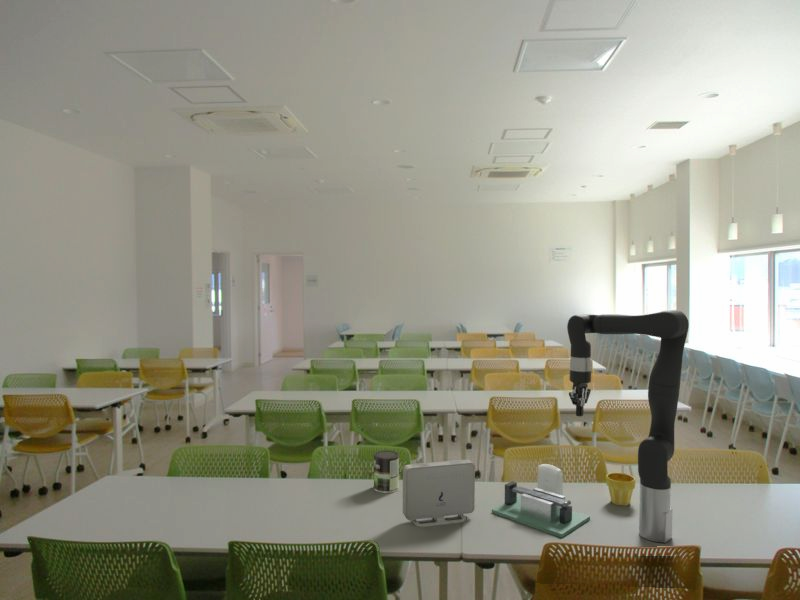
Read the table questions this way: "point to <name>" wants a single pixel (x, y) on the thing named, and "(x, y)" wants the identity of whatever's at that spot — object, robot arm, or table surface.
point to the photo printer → (550, 479)
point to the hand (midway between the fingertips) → (579, 415)
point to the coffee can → (386, 471)
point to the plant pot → (620, 487)
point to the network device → (438, 491)
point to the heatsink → (539, 505)
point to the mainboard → (552, 528)
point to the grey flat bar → (542, 496)
